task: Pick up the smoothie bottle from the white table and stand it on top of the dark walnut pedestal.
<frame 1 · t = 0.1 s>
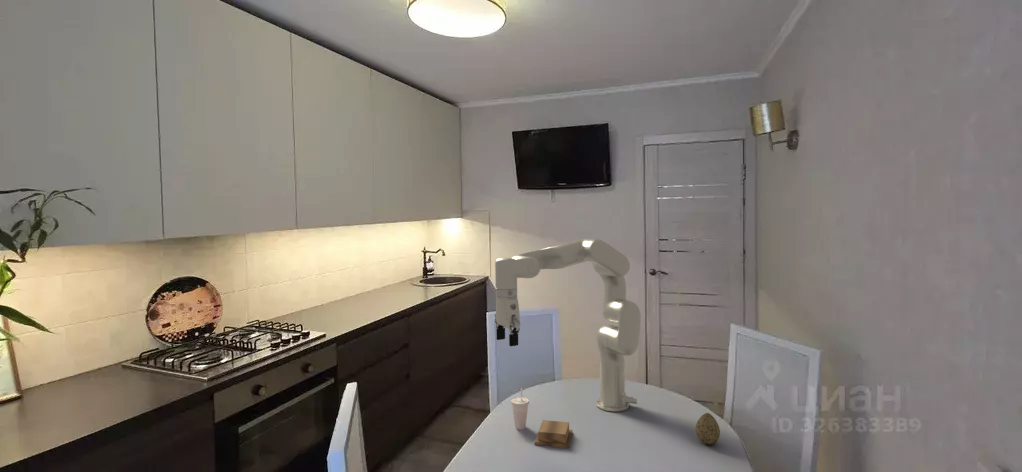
hand: (507, 342, 161), 31 cm above the table, tool pointing down, fingers open, 9 cm apart
smoothie: (520, 427, 164), on the table
decorative egg: (707, 444, 149), on the table
pedestal: (554, 438, 155), on the table
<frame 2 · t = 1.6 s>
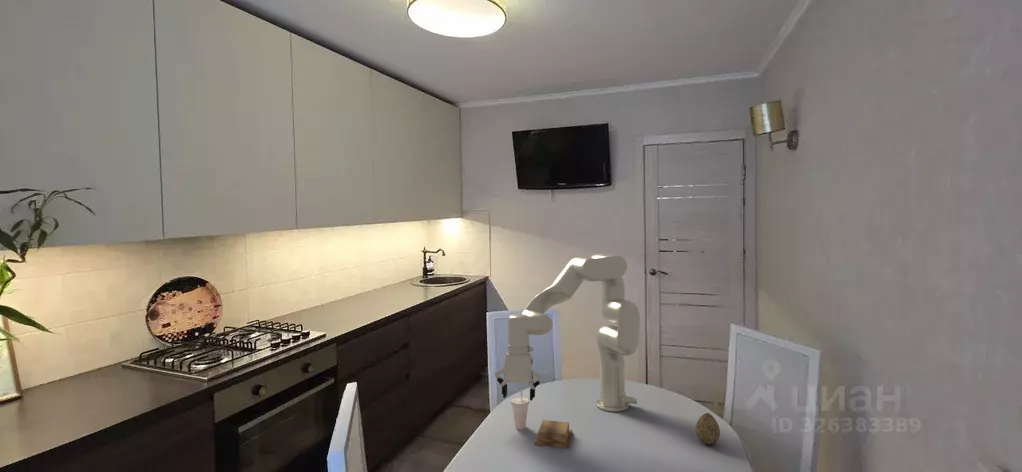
hand: (518, 397, 163), 11 cm above the table, tool pointing down, fingers open, 9 cm apart
nothing on the table moved.
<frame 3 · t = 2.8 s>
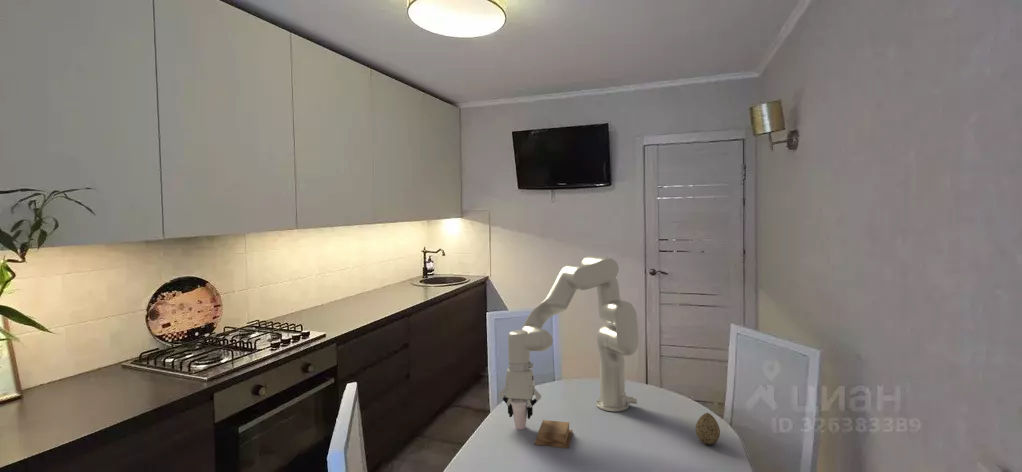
hand: (520, 415, 163), 4 cm above the table, tool pointing down, fingers closed on smoothie, 5 cm apart
smoothie: (520, 427, 164), on the table, touching gripper
everything else where it was.
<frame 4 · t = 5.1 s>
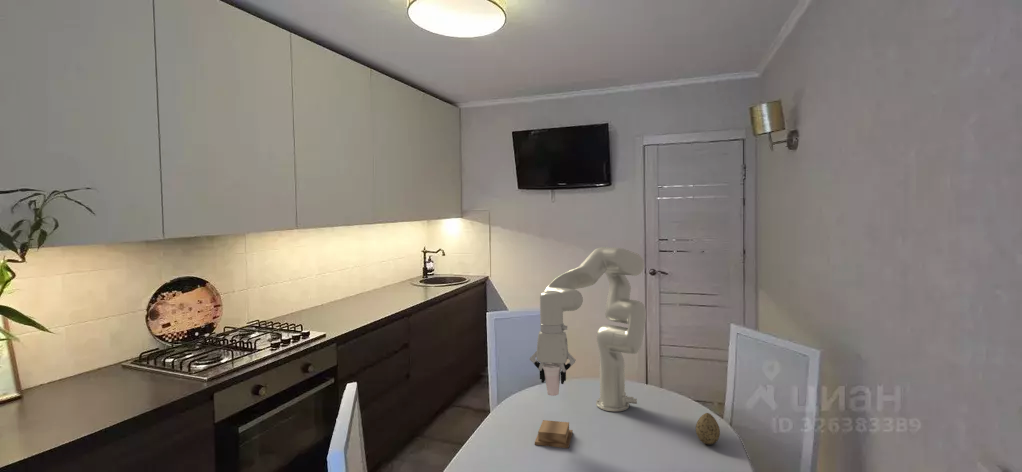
hand: (552, 381, 154), 19 cm above the table, tool pointing down, fingers closed on smoothie, 5 cm apart
smoothie: (553, 394, 154), point 15 cm above the table, touching gripper
everything else where it was.
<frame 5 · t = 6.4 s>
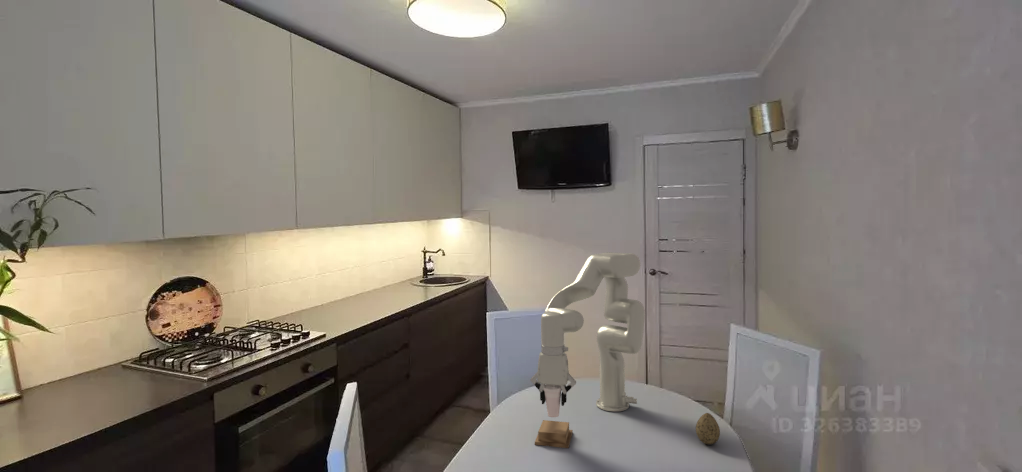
hand: (553, 402, 154), 12 cm above the table, tool pointing down, fingers closed on smoothie, 5 cm apart
smoothie: (553, 415, 154), point 8 cm above the table, touching gripper
everything else where it was.
when the fingers open (9 cm above the table, at t = 7.5 s): smoothie stays where it is, resting on pedestal.
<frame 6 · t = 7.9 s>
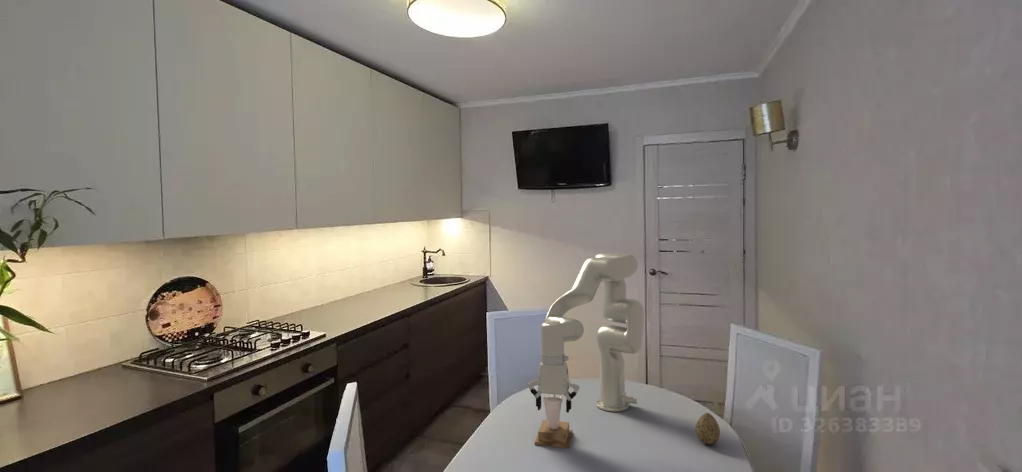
hand: (553, 409, 154), 10 cm above the table, tool pointing down, fingers open, 9 cm apart
smoothie: (553, 427, 155), point 4 cm above the table, touching pedestal
everything else where it was.
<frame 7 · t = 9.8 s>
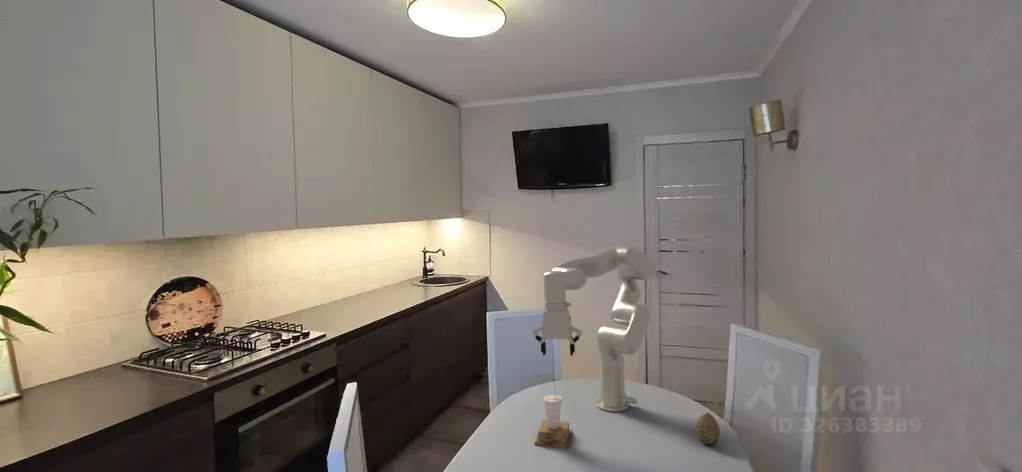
hand: (558, 354, 162), 26 cm above the table, tool pointing down, fingers open, 9 cm apart
nothing on the table moved.
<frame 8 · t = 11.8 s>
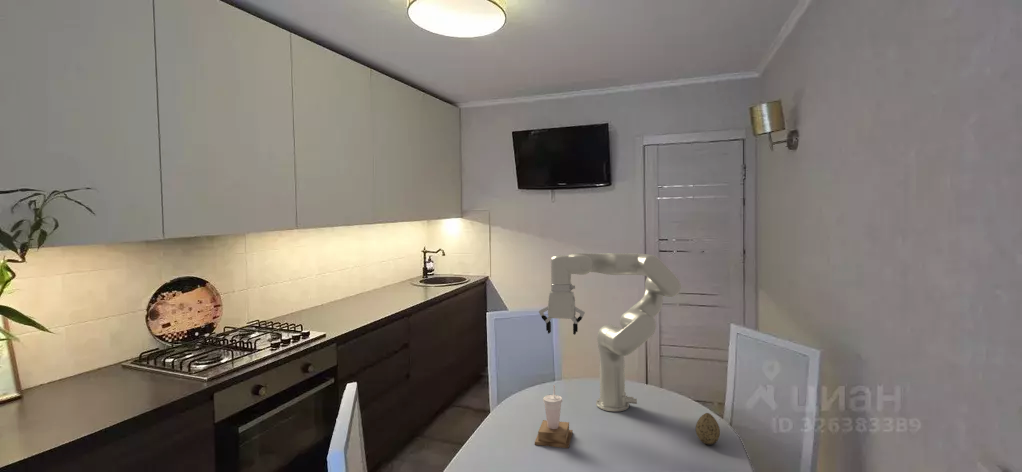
hand: (561, 333, 175), 30 cm above the table, tool pointing down, fingers open, 9 cm apart
nothing on the table moved.
at the end: smoothie 0.4 cm off-centre on the pedestal, point 3.8 cm above the pedestal's base; smoothie tilted 0°; the gripper is holding nothing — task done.
